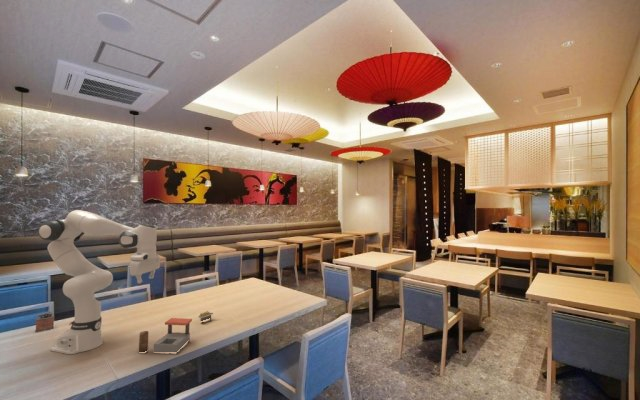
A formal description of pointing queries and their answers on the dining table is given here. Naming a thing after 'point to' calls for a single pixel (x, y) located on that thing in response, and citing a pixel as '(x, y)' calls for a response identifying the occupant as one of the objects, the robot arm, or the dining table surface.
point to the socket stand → (173, 336)
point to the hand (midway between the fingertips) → (145, 280)
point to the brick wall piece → (44, 322)
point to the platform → (205, 316)
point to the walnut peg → (143, 341)
